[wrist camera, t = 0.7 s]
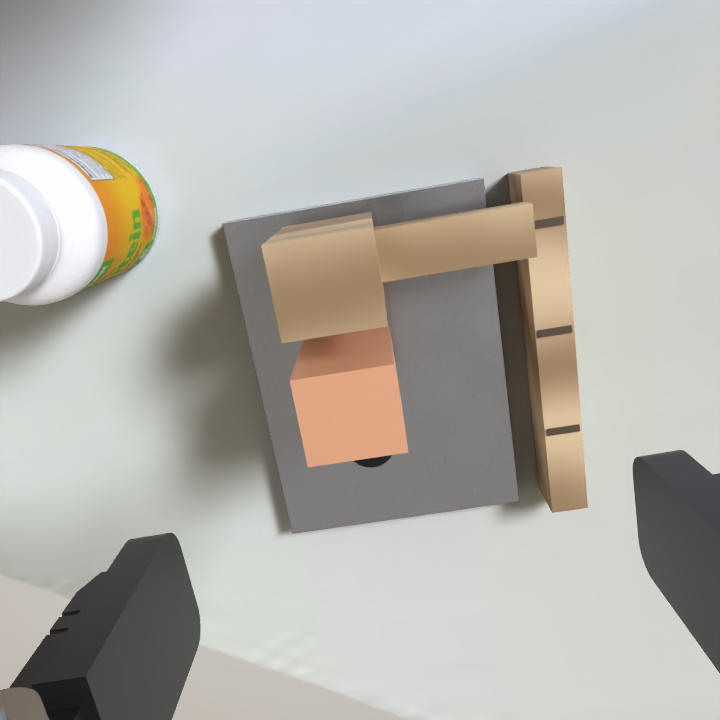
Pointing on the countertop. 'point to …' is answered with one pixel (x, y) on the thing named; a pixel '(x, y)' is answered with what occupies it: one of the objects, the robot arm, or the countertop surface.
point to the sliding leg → (348, 397)
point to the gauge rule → (443, 254)
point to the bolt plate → (414, 371)
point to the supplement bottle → (70, 220)
